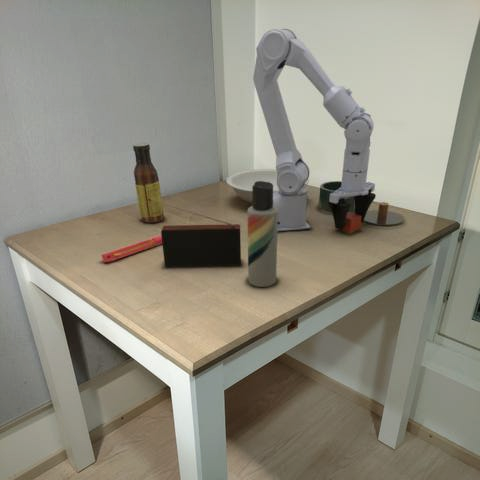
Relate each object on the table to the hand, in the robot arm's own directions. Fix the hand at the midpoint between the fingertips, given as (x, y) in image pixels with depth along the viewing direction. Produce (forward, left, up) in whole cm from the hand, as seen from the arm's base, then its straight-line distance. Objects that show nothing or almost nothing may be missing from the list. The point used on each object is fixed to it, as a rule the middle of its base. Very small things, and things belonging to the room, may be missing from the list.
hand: (349, 225), depth 118 cm
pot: (+3, +17, -2) cm, 17 cm away
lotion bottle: (-27, -23, -2) cm, 36 cm away
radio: (-39, -12, -2) cm, 41 cm away
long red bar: (-50, 0, -2) cm, 50 cm away
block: (0, 0, -2) cm, 2 cm away
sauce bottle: (-49, +19, -2) cm, 53 cm away
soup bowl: (-15, +28, -2) cm, 32 cm away
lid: (+11, +5, -1) cm, 12 cm away
